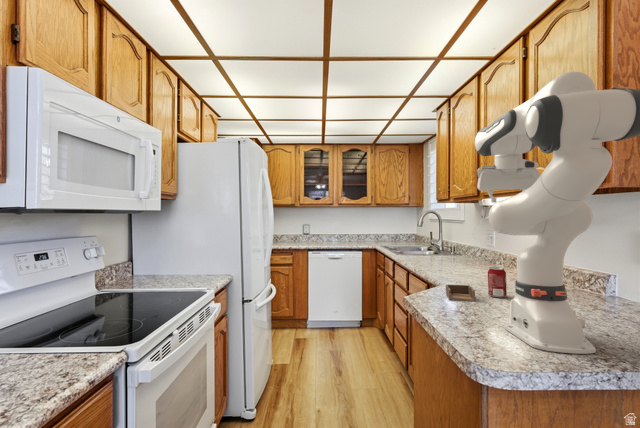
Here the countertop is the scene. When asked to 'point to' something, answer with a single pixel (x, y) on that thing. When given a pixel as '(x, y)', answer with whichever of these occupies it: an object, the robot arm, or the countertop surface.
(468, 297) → the can rest
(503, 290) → the soda can
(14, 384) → the countertop surface
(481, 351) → the countertop surface
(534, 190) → the robot arm
